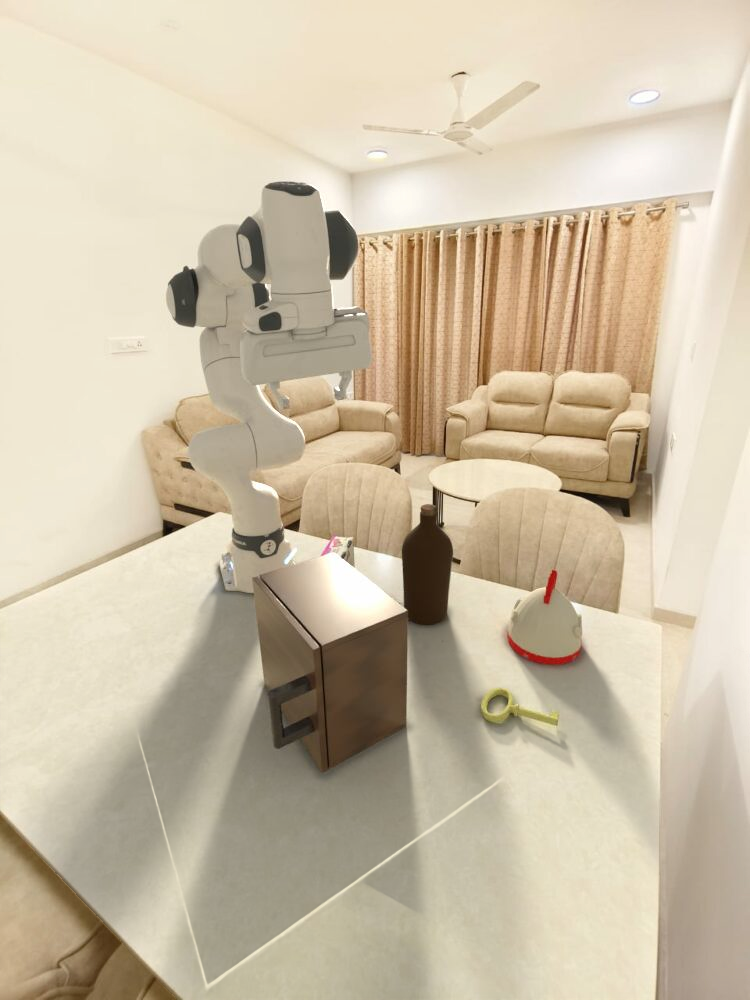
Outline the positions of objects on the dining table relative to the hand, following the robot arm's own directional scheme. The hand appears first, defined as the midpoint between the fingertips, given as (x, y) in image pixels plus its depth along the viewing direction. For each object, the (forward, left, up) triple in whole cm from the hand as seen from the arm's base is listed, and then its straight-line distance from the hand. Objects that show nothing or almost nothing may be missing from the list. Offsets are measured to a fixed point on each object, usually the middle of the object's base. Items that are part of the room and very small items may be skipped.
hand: (312, 403), depth 80 cm
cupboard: (+12, -5, -48) cm, 50 cm away
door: (+12, -16, -48) cm, 52 cm away
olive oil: (0, +24, -49) cm, 54 cm away
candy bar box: (-10, +8, -49) cm, 50 cm away
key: (+31, +18, -49) cm, 61 cm away
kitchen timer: (+21, +37, -49) cm, 65 cm away
